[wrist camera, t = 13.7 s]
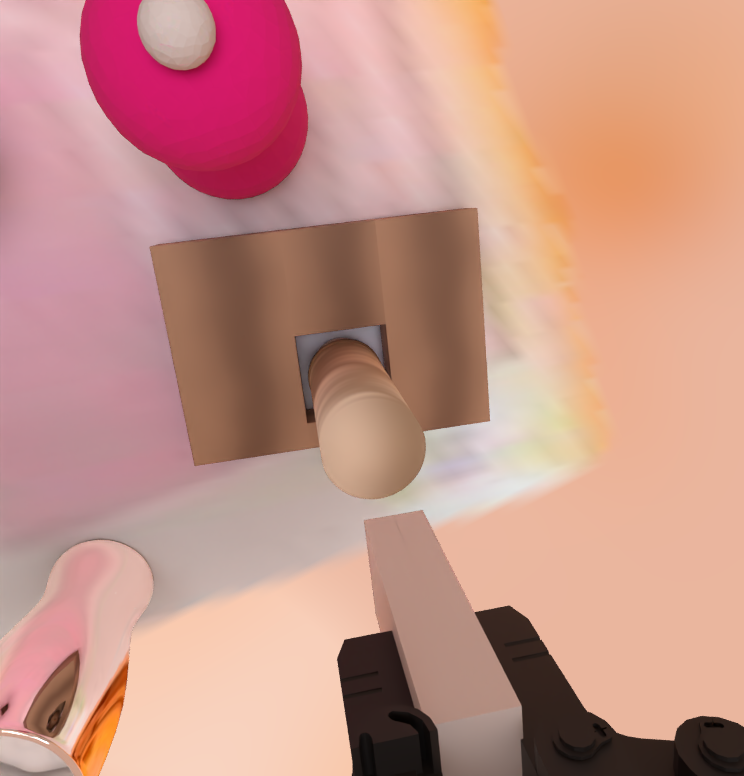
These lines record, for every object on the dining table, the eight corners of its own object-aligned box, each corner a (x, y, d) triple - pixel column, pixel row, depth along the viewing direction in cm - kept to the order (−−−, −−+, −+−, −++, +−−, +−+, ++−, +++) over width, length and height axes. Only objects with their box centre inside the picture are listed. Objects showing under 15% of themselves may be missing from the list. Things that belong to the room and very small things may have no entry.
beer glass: (118, 649, 40) (27, 891, 26) (19, 594, 38) (-138, 823, 24) (184, 571, 39) (127, 776, 25) (86, 511, 38) (-35, 695, 23)
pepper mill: (263, 26, 32) (233, -246, 13) (328, 162, 34) (386, 102, 15) (136, 92, 32) (-81, -83, 13) (210, 224, 34) (117, 241, 15)
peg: (311, 402, 38) (327, 508, 24) (301, 335, 36) (312, 407, 23) (379, 392, 38) (431, 491, 25) (371, 326, 37) (422, 391, 23)
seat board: (200, 449, 37) (194, 466, 35) (158, 244, 34) (149, 246, 32) (477, 408, 39) (489, 420, 37) (464, 208, 36) (477, 208, 33)
